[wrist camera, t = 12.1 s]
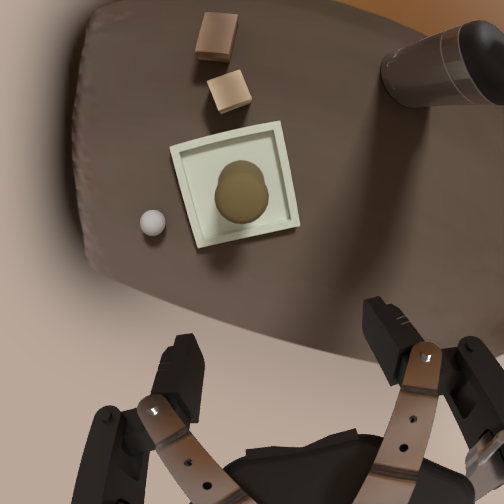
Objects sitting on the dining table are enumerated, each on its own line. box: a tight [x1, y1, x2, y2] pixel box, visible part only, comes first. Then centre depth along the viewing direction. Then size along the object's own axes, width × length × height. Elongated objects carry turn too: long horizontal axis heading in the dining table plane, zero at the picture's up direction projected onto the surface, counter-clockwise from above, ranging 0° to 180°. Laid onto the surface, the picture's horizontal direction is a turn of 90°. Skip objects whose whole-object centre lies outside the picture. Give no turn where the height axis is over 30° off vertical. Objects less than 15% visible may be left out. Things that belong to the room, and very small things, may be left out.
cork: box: [214, 160, 269, 224], centre depth 29 cm, size 6×6×11 cm
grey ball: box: [140, 210, 165, 236], centre depth 35 cm, size 4×4×4 cm
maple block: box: [207, 70, 252, 114], centre depth 29 cm, size 4×4×4 cm
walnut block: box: [195, 12, 238, 63], centre depth 25 cm, size 4×6×4 cm, turn 170°
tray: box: [170, 121, 300, 248], centre depth 34 cm, size 14×14×2 cm
